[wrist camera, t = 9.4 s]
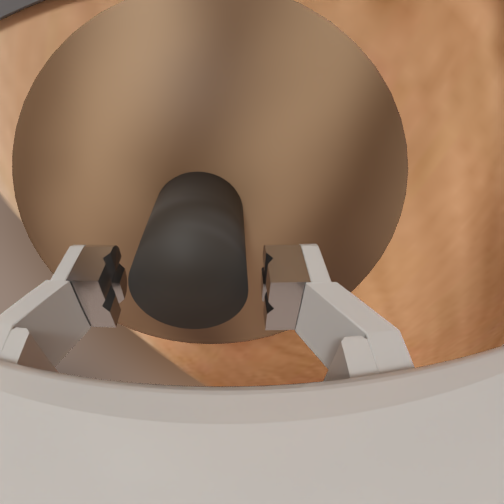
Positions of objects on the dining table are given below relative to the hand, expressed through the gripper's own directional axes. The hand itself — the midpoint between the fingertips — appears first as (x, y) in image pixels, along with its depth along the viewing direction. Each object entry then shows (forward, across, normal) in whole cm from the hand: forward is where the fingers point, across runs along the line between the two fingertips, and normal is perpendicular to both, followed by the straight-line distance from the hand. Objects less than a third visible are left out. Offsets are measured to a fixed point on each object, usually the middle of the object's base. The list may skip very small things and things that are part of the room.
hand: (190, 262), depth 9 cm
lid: (+4, 0, 0) cm, 4 cm away
